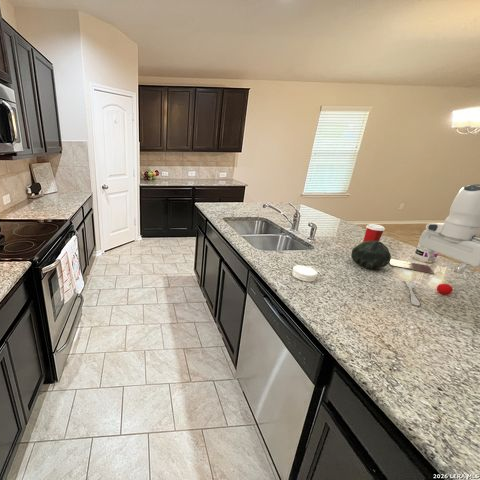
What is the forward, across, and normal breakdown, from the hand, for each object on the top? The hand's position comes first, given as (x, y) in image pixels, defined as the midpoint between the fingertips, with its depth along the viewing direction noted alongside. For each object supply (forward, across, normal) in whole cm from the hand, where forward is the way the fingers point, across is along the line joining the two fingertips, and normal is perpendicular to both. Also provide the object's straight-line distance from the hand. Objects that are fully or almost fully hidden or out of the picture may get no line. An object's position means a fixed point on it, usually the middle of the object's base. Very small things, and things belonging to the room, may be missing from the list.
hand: (443, 266), depth 93 cm
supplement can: (+16, +37, -37) cm, 55 cm away
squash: (+16, +31, -1) cm, 35 cm away
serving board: (+16, +30, -23) cm, 41 cm away
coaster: (+15, +21, +38) cm, 46 cm away
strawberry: (+14, +6, -13) cm, 20 cm away
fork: (+16, +6, 0) cm, 17 cm away
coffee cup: (+16, +50, -17) cm, 56 cm away
